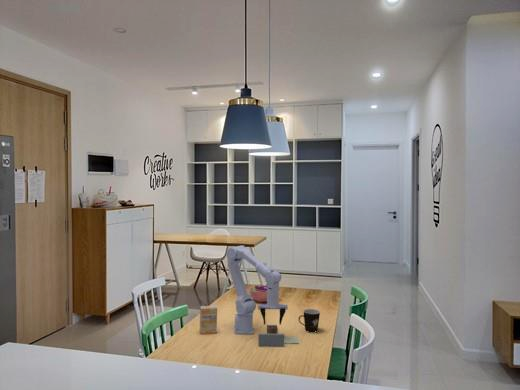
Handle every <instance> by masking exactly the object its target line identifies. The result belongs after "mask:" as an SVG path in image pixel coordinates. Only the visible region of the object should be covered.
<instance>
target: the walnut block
mask: <svg viewBox="0 0 520 390" xmlns="http://www.w3.org/2000/svg"><path fill="white" fill-rule="evenodd" d="M278 331H279V327H278V325H277V324H266V334H279V332H278Z"/></svg>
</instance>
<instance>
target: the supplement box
mask: <svg viewBox="0 0 520 390" xmlns="http://www.w3.org/2000/svg"><path fill="white" fill-rule="evenodd" d="M199 307H200V308H199V333H200V335H208V334H217V332H218V331H217V328H218V307H217V305H201V306H199Z"/></svg>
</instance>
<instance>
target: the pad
mask: <svg viewBox="0 0 520 390" xmlns="http://www.w3.org/2000/svg"><path fill="white" fill-rule="evenodd" d="M284 343H299V344H300V341H299V338H298V337H296V336H295V337H293V336H284Z"/></svg>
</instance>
